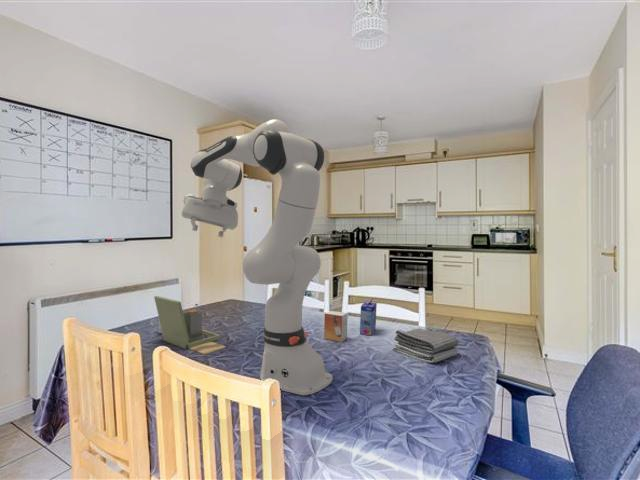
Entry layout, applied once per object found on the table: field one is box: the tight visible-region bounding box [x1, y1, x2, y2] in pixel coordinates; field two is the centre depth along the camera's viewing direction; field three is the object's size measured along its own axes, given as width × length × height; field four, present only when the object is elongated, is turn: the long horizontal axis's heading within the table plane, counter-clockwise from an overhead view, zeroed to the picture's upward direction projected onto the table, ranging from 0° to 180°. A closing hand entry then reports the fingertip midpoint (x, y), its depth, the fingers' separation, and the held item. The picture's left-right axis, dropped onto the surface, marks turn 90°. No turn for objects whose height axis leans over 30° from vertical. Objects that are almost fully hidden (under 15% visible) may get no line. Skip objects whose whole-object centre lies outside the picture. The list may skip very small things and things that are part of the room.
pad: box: [189, 341, 226, 356], centre depth 124 cm, size 9×9×1 cm
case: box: [153, 295, 221, 350], centre depth 133 cm, size 17×18×18 cm
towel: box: [392, 328, 460, 364], centre depth 121 cm, size 15×18×8 cm
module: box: [183, 309, 203, 343], centre depth 133 cm, size 5×5×12 cm
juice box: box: [359, 298, 378, 337], centre depth 145 cm, size 10×6×14 cm, turn 161°
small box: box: [323, 310, 349, 343], centre depth 136 cm, size 8×6×10 cm
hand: (207, 233), depth 124 cm, fingers open, 8 cm apart
